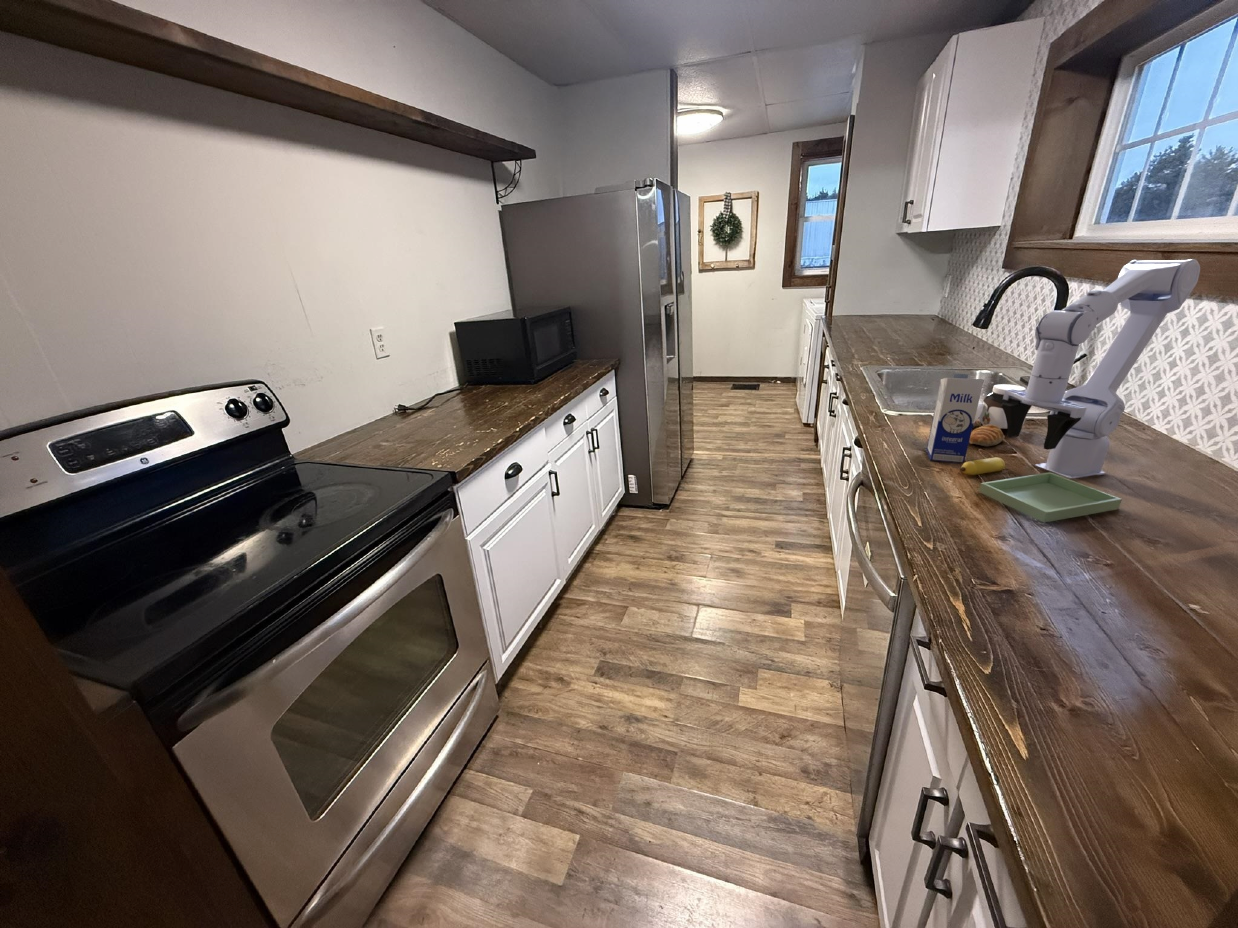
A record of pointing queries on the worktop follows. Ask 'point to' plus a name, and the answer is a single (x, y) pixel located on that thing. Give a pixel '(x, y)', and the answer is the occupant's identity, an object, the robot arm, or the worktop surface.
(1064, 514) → the tray
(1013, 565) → the worktop surface
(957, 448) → the milk carton
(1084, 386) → the robot arm
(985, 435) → the pastry
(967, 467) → the banana
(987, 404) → the spread jar
